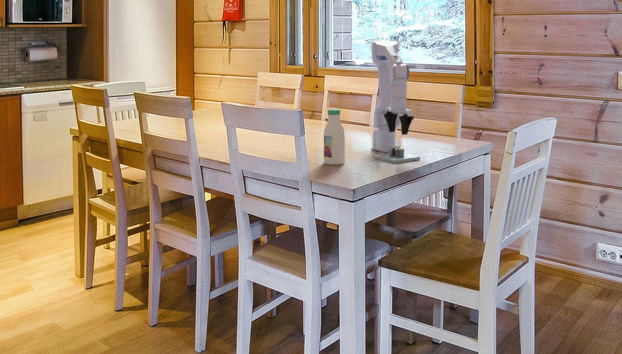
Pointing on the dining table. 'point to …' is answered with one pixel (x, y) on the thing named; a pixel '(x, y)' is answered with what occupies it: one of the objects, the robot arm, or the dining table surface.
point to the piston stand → (397, 159)
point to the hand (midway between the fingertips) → (398, 133)
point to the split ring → (396, 152)
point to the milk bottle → (334, 139)
